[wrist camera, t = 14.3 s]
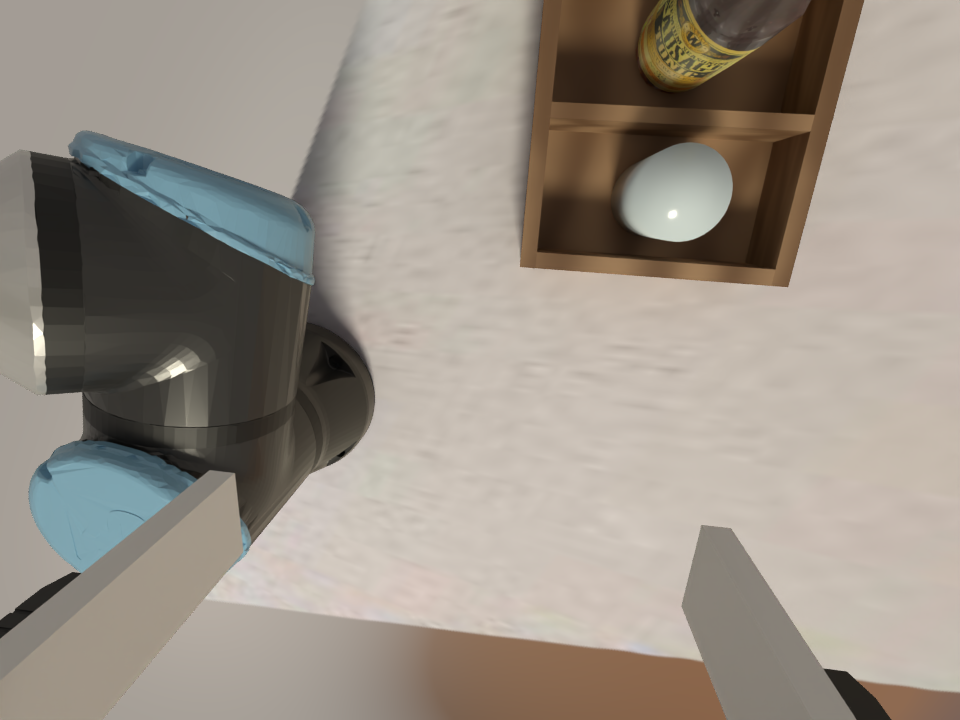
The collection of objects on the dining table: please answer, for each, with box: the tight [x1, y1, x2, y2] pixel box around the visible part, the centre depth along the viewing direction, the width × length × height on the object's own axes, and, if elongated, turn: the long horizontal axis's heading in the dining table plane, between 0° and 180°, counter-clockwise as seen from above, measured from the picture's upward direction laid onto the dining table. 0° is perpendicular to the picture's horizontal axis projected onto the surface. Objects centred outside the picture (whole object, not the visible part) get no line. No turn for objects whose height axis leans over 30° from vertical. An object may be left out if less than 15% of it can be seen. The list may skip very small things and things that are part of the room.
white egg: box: [611, 142, 733, 242], centre depth 34 cm, size 6×6×9 cm
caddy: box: [520, 0, 864, 287], centre depth 35 cm, size 20×22×6 cm
